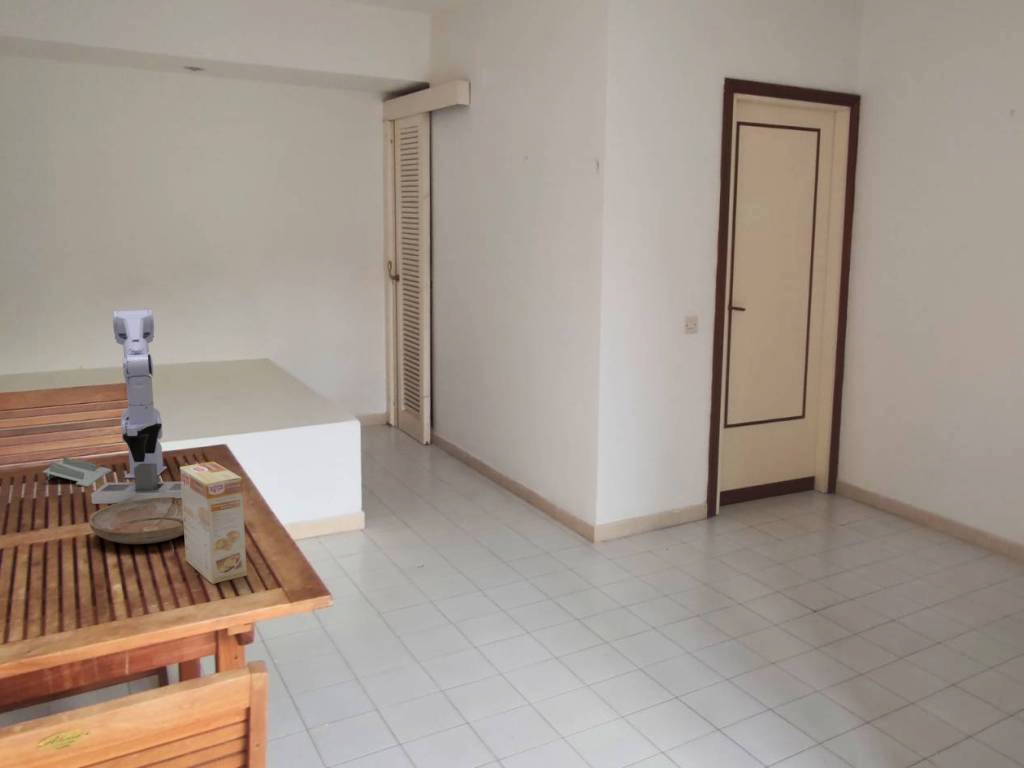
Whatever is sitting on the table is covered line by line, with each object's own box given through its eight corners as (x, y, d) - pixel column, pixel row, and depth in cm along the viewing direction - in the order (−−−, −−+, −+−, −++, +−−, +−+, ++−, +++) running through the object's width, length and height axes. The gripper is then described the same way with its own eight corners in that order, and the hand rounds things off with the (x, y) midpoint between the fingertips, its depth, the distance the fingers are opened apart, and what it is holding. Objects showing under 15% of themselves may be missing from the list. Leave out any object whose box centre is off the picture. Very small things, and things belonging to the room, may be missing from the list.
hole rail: (107, 492, 210) (106, 482, 210) (205, 490, 212) (204, 481, 212) (92, 503, 202) (91, 493, 201) (194, 501, 203) (194, 491, 203)
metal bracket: (36, 466, 213) (64, 451, 228) (32, 487, 214) (59, 471, 229) (93, 481, 215) (117, 465, 230) (88, 502, 216) (112, 484, 231)
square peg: (142, 494, 209) (139, 463, 207) (158, 494, 209) (156, 463, 207) (136, 500, 205) (133, 468, 203) (153, 499, 205) (150, 468, 204)
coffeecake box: (248, 575, 160) (243, 477, 157) (211, 585, 156) (204, 484, 152) (220, 552, 172) (214, 460, 168) (184, 560, 167) (178, 466, 164)
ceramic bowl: (147, 562, 167) (145, 538, 166) (66, 543, 177) (63, 520, 176) (231, 526, 187) (230, 504, 187) (154, 510, 197) (153, 490, 196)
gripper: (134, 397, 211) (138, 449, 214) (112, 410, 197) (116, 465, 199) (163, 397, 212) (167, 449, 214) (143, 409, 197) (147, 465, 200)
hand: (144, 457), depth 207 cm, fingers open, 7 cm apart
